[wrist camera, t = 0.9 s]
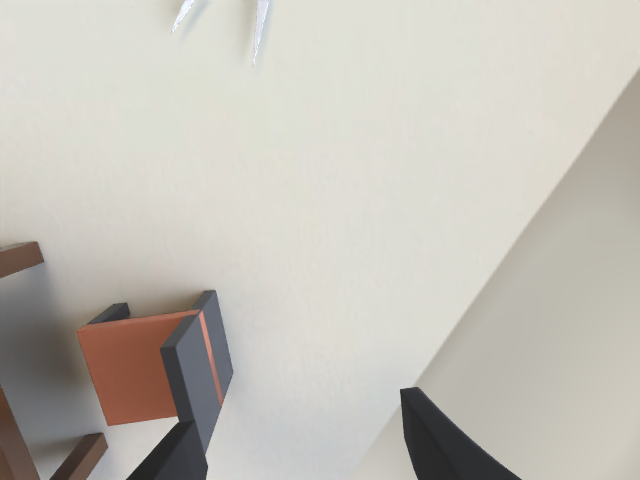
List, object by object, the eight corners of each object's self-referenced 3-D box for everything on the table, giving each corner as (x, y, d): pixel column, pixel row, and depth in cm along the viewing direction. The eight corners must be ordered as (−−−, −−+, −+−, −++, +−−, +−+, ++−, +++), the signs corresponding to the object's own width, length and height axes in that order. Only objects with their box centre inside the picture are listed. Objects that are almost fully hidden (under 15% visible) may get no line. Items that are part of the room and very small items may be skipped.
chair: (233, 372, 20) (204, 457, 14) (138, 386, 20) (69, 477, 14) (215, 289, 19) (175, 346, 13) (113, 303, 19) (26, 366, 13)
